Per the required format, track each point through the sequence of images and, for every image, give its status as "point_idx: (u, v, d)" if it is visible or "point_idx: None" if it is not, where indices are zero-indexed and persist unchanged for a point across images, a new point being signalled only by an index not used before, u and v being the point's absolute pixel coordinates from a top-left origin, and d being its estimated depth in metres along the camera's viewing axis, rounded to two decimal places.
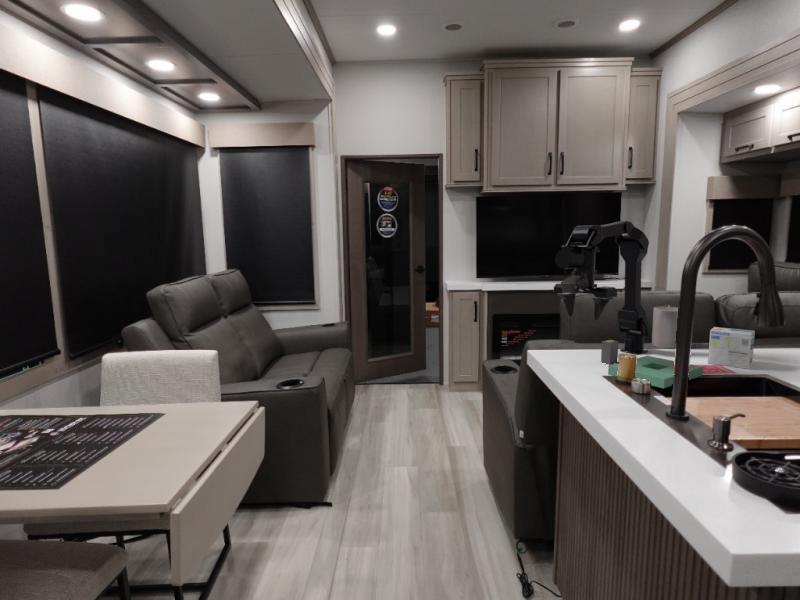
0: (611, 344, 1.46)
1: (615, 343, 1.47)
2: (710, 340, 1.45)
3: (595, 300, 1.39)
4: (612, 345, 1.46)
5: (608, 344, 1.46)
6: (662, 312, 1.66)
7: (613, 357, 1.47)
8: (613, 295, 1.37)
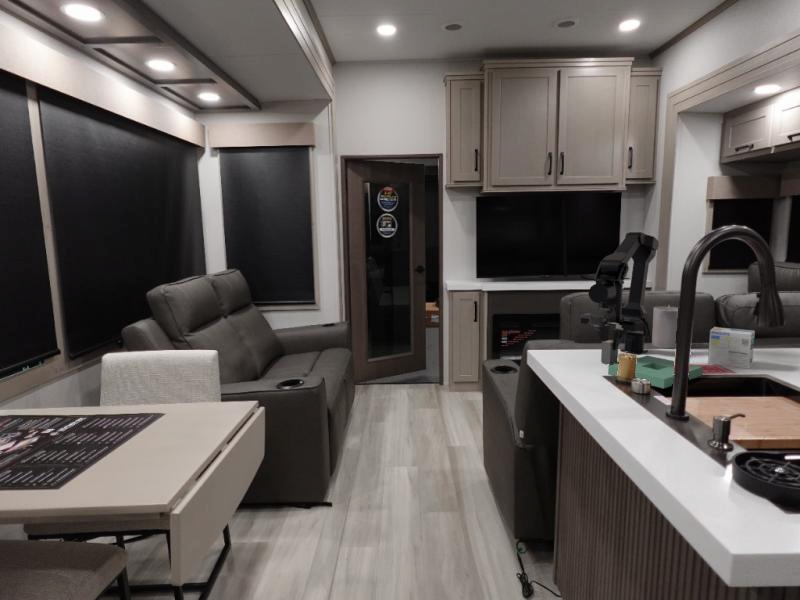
0: (611, 344, 1.46)
1: None
2: (710, 340, 1.45)
3: (614, 331, 1.44)
4: (612, 345, 1.46)
5: (608, 344, 1.46)
6: (662, 312, 1.66)
7: (613, 357, 1.47)
8: (641, 328, 1.40)
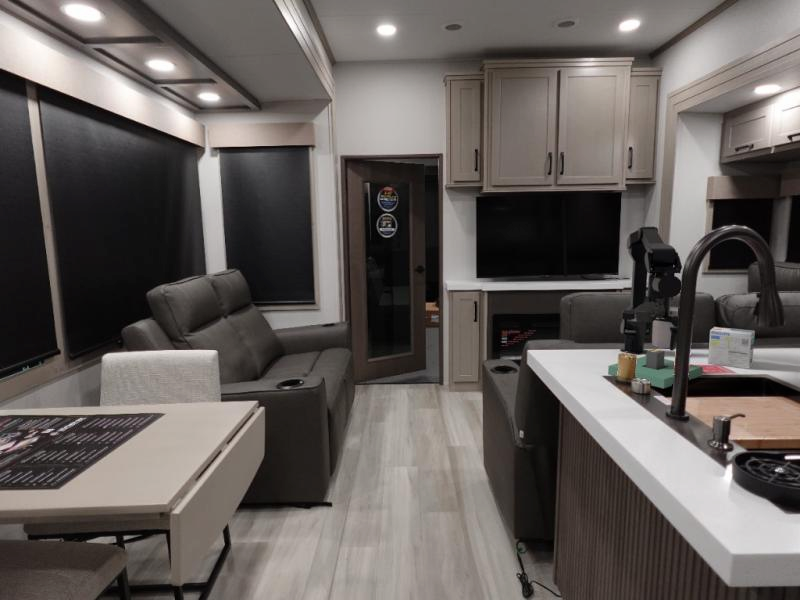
0: (657, 354, 1.33)
1: (661, 353, 1.34)
2: (710, 340, 1.45)
3: (672, 329, 1.28)
4: (658, 355, 1.33)
5: (654, 354, 1.33)
6: None
7: (659, 368, 1.34)
8: (694, 324, 1.26)
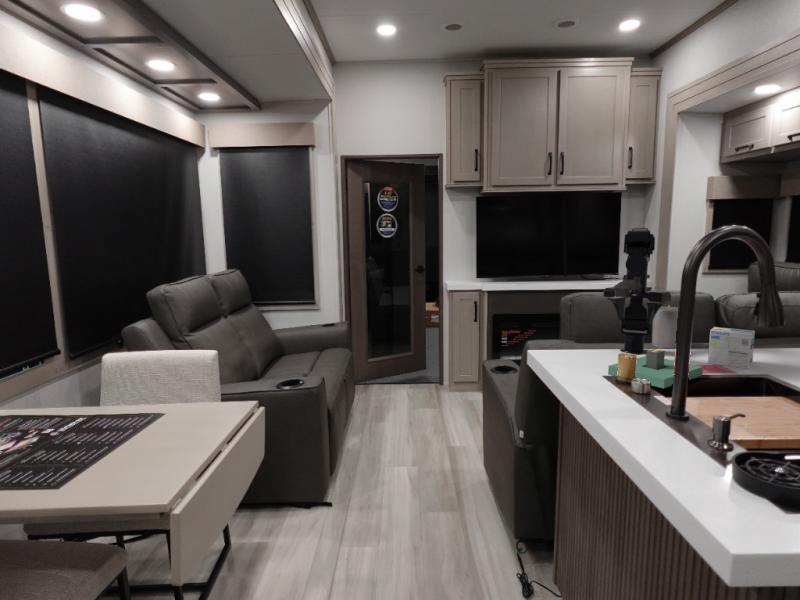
0: (657, 354, 1.33)
1: (661, 353, 1.34)
2: (710, 340, 1.45)
3: (649, 304, 1.40)
4: (658, 355, 1.33)
5: (654, 354, 1.33)
6: (662, 312, 1.66)
7: (659, 368, 1.34)
8: (667, 299, 1.38)
